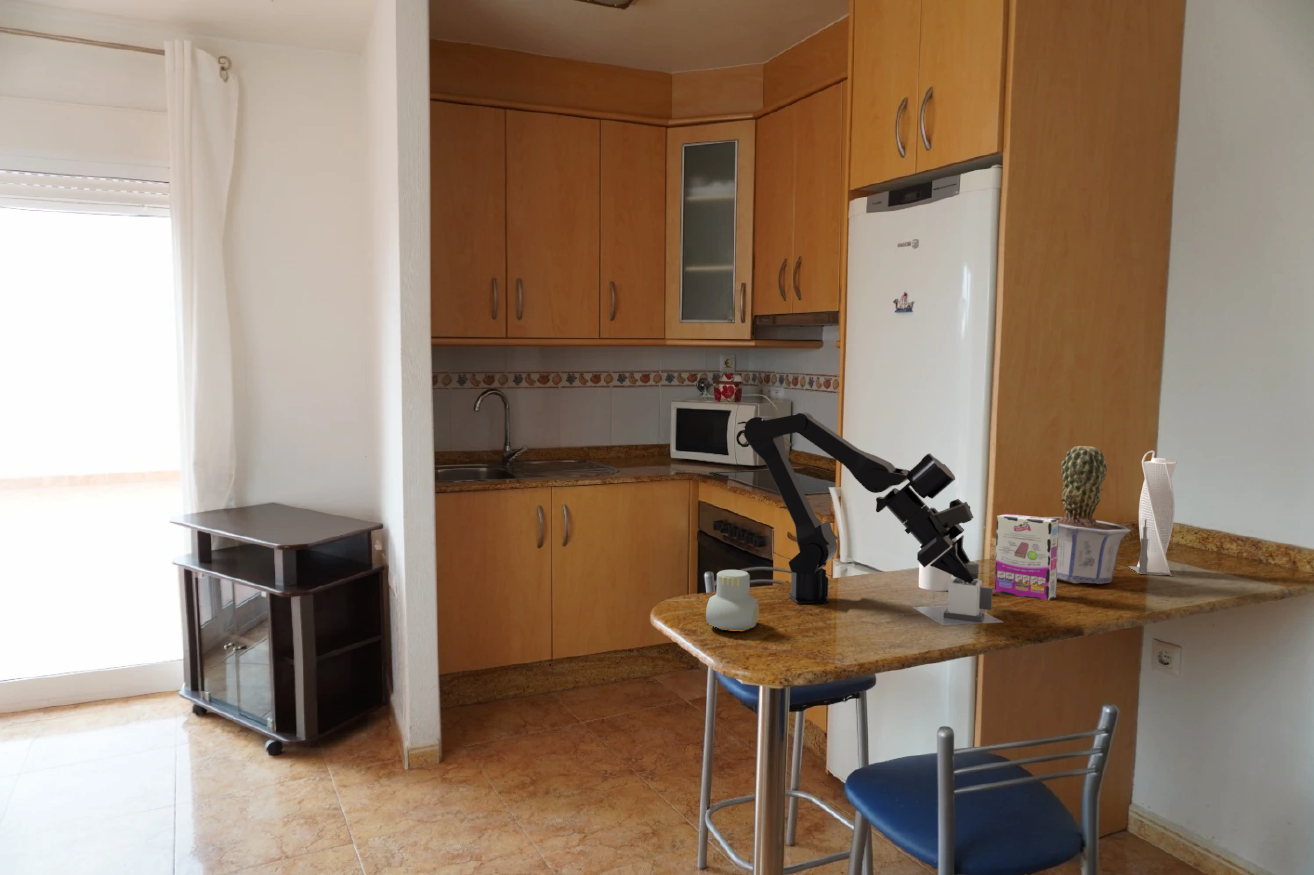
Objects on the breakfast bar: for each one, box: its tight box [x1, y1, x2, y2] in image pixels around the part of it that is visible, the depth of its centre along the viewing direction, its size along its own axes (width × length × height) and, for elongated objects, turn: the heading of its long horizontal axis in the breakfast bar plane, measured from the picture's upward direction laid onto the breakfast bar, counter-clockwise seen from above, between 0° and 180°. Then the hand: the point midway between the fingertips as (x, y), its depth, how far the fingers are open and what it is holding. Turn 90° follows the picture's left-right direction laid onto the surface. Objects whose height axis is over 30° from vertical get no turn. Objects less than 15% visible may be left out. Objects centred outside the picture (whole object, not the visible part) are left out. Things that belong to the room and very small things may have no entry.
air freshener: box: [705, 569, 760, 630], centre depth 158 cm, size 11×8×10 cm
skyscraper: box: [1128, 449, 1178, 576], centre depth 203 cm, size 8×8×28 cm
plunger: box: [953, 561, 980, 584], centre depth 163 cm, size 4×4×8 cm
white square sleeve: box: [944, 576, 994, 622], centre depth 163 cm, size 8×6×6 cm
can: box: [918, 543, 952, 592], centre depth 185 cm, size 6×6×12 cm
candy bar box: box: [994, 513, 1059, 601], centre depth 182 cm, size 11×5×16 cm, turn 47°
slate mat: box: [911, 605, 1005, 626], centre depth 165 cm, size 12×12×1 cm
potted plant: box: [1043, 445, 1132, 585], centre depth 195 cm, size 18×18×30 cm
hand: (973, 578), depth 163 cm, fingers closed on plunger, 4 cm apart
